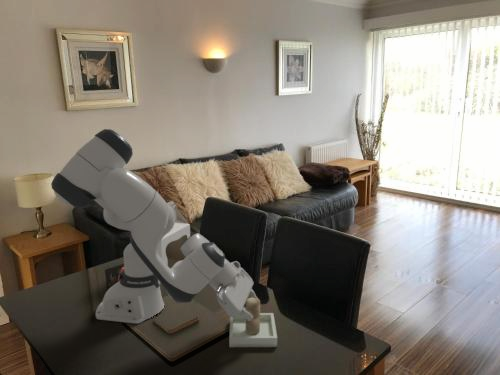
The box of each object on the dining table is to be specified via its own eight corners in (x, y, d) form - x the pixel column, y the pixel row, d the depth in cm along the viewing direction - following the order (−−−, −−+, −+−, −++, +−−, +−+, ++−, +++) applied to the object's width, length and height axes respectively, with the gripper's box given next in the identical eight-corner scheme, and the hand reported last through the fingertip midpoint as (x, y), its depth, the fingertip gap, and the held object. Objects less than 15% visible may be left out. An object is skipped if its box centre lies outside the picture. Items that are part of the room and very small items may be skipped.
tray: (229, 347, 119) (229, 338, 119) (230, 321, 133) (230, 313, 132) (277, 347, 120) (277, 337, 119) (273, 321, 133) (273, 313, 133)
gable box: (162, 281, 161) (159, 213, 155) (134, 276, 166) (131, 209, 159) (191, 261, 181) (189, 200, 175) (166, 256, 186) (163, 197, 180)
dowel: (245, 334, 124) (245, 304, 122) (245, 326, 128) (245, 297, 126) (259, 334, 124) (260, 304, 122) (259, 326, 128) (259, 297, 126)
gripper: (221, 287, 113) (255, 323, 114) (238, 259, 133) (267, 289, 133) (206, 300, 115) (239, 335, 116) (225, 270, 135) (253, 300, 135)
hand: (254, 310), depth 125 cm, fingers open, 8 cm apart
